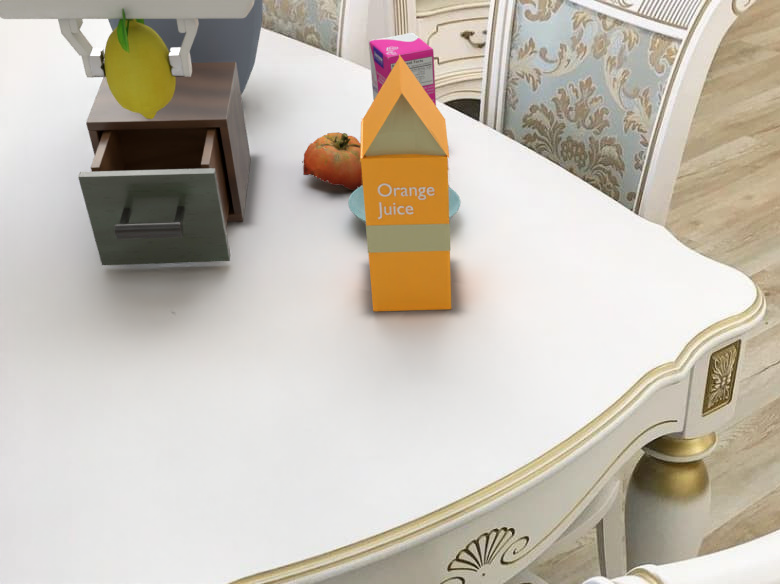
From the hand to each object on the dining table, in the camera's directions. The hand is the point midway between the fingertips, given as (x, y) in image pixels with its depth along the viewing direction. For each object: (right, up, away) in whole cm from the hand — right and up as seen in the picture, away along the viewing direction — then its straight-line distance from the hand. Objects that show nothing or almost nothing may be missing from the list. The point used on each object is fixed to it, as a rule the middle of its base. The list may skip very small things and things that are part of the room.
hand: (139, 74), depth 91 cm
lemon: (0, -3, +3) cm, 4 cm away
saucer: (+19, -2, +28) cm, 34 cm away
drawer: (-4, -6, +22) cm, 23 cm away
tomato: (+11, +6, +34) cm, 37 cm away
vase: (-8, +20, +48) cm, 53 cm away
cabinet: (-6, +3, +31) cm, 32 cm away
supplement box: (+18, +12, +41) cm, 46 cm away
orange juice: (+21, -12, +18) cm, 30 cm away
